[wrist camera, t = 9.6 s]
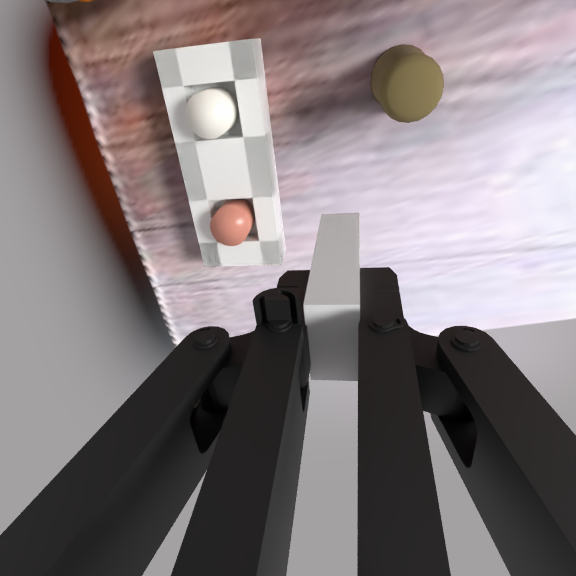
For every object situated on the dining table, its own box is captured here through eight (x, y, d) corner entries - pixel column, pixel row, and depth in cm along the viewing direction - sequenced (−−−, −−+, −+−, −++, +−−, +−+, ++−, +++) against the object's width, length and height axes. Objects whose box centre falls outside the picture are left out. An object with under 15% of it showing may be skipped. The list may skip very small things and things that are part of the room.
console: (169, 49, 43) (153, 51, 40) (260, 38, 42) (252, 38, 38) (213, 252, 56) (204, 266, 52) (285, 250, 54) (280, 264, 51)
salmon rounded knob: (217, 198, 49) (206, 211, 46) (252, 196, 49) (244, 209, 45) (224, 231, 52) (214, 246, 48) (258, 230, 51) (250, 245, 47)
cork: (380, 119, 44) (386, 142, 35) (362, 60, 41) (364, 68, 32) (437, 96, 42) (460, 113, 33) (423, 32, 39) (443, 32, 30)
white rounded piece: (195, 88, 43) (180, 93, 40) (235, 84, 42) (224, 89, 39) (204, 132, 45) (191, 140, 42) (242, 128, 45) (232, 137, 41)
